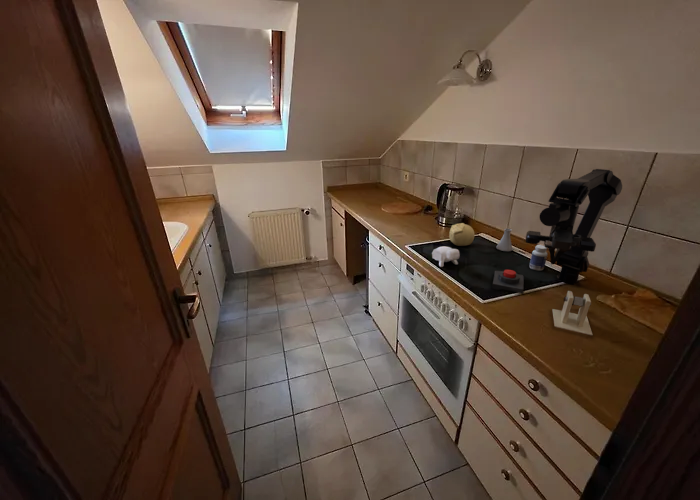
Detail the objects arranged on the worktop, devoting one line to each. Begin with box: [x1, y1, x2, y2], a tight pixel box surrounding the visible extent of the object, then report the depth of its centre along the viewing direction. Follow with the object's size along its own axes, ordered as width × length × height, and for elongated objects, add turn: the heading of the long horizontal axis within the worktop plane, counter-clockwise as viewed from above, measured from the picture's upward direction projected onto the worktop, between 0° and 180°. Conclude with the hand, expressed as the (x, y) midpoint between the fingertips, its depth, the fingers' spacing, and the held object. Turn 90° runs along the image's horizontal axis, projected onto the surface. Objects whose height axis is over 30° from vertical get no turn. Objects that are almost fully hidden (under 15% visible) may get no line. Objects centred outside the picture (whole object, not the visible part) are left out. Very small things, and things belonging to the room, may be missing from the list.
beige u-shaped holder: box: [552, 290, 593, 336], centre depth 89 cm, size 10×9×10 cm
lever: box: [563, 295, 584, 307], centre depth 92 cm, size 13×3×3 cm, turn 152°
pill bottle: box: [529, 244, 548, 271], centre depth 123 cm, size 5×5×10 cm
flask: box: [496, 227, 513, 252], centre depth 142 cm, size 7×7×10 cm
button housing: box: [491, 270, 525, 294], centre depth 112 cm, size 12×10×4 cm
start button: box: [503, 269, 517, 278], centre depth 111 cm, size 4×4×2 cm
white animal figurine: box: [431, 245, 461, 268], centre depth 130 cm, size 9×8×15 cm
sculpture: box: [448, 222, 475, 247], centre depth 150 cm, size 11×12×11 cm
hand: (552, 263), depth 102 cm, fingers closed
